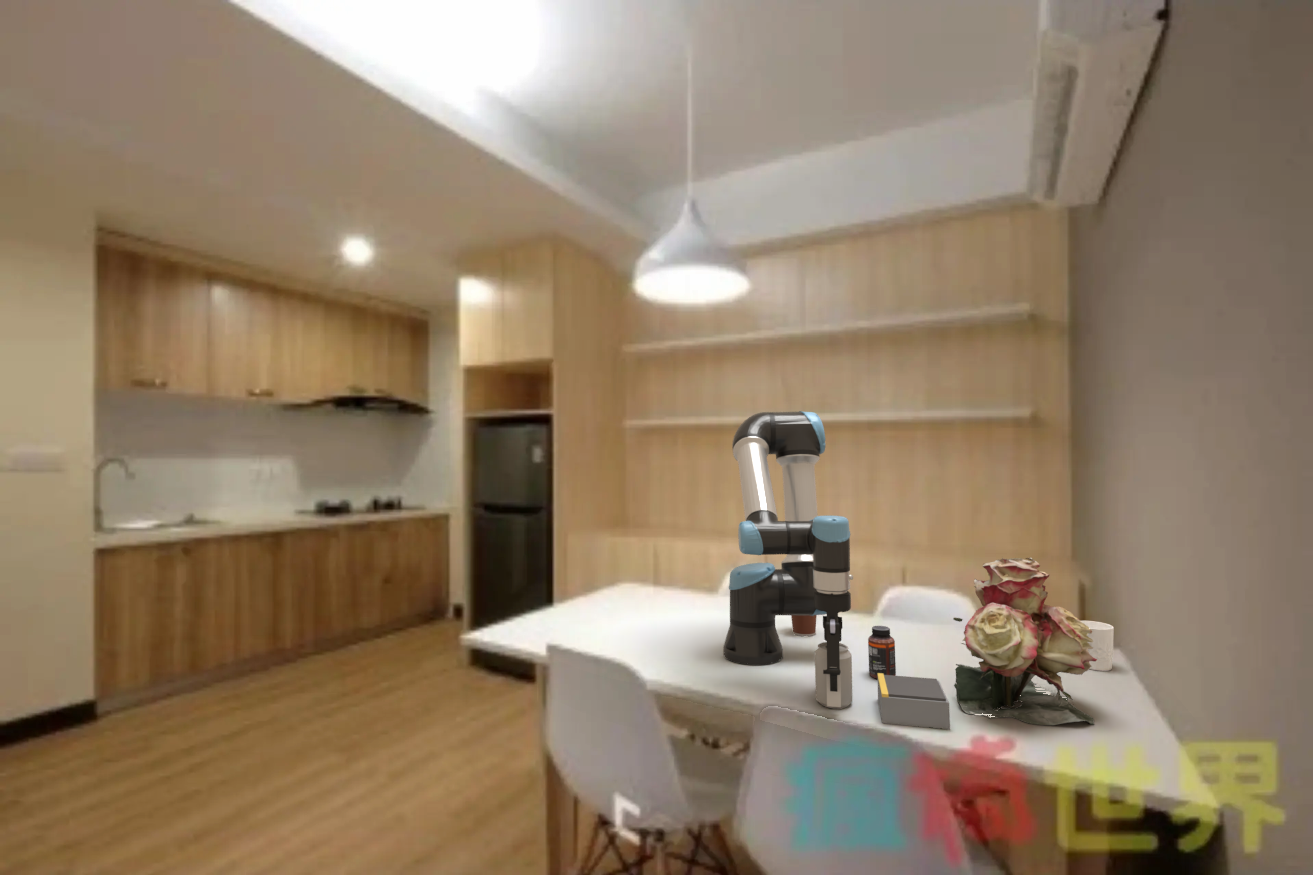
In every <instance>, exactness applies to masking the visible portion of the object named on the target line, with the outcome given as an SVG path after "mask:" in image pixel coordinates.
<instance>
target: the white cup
mask: <svg viewBox="0 0 1313 875" xmlns="http://www.w3.org/2000/svg"><path fill="white" fill-rule="evenodd" d="M1080 622H1082V623H1084V624H1085V625H1087V626H1088V627H1089V629H1091V630H1092V634H1091V633H1088V635H1086V636H1088V637H1089V638H1091V639H1092V640H1093V642H1088V643H1089V645H1090V646H1091V647H1093V649H1088V652H1089V654H1090V655H1091V656H1092V657H1093V658H1095V659H1097V660H1096V661H1089V663H1090V665H1091V666H1092V667H1090V668H1089V670H1093V671H1097V672H1098V671H1100V672H1108V671H1111V670H1113V657H1114V633H1115V632H1114V631H1115V629H1114V626H1113V625H1111V624H1109V623H1105V622H1101V621H1093V620H1080Z"/></svg>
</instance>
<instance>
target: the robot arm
mask: <svg viewBox="0 0 1313 875" xmlns="http://www.w3.org/2000/svg"><path fill="white" fill-rule="evenodd" d="M825 434H826V433H825V427H824V424H823V421H822V419H821V417H820V416H819V415H818V414H817V413H816V412H814V411H813V412H812V411H802V410H799V411H772V412H771V411H770V412H769V411H761V412H757V413H755V414H753V415H751V416H749V417H747V419H745V420H744V421H743V422H742V423H740V425H739V427H738V428H737V430H735V433H734V436H733V439H732V444H731V446H732V455H733V458H734V459H735V460H736V461H737V464H738V472H739V473H738V474H739V481H740V489H741V495H742V496H741V498H742V505H743V512H744V520H743V521H741V522H739V524H738V534H737V536H738V548H739V551H740V552H741V554H743V555H750V556H751V555H753V556H764V555H765V556H766V555H770V556H771V555H786V556H785V557H784V558H783V560H781V562H780V563H781V569H780V568H776V567H775V565H774V564H773V563H770V562H754V563H746V564H742V565H738V566H736V567H734V568H733V569H732V570H730V573H729V583H728V584H729V585H728V590H729V627H728V630H727V634H726V637H725V639H724V640H725V641H724V643H723V657H724V658H725V659H726V660H728V661H731V662H733V663H737V664H742V665H749V666H751V665H752V666H762V665H771V664H774V663H778V662H780V661H781V660H782V659H783V658H784V657H783V655H784V653H783V645H782V643H781V639H780V636H779V634H778V630H777V627H776V616H791V615H810V616H814V615H817V616H822V627H823V639H824V641H825V642H827V669H826V670H823V674H826V678H827V706H831V707H841V678H840V673H841V670H840V655H839V643H841V641H842V629H843V617H842V616H839V613H846V612H848V611H850V610H851V608H852V605H851V604H852V603H851V602H852V599H851V595H852V594H851V592H850V589H851V581H850V580H853V579H854V575H853V574H851V551H850V550H851V549H850V548H851V547H850V545H851V544H850V543H851V540H850V538H851V531H850V521H849V519H848V518H847V517H845V516H842V515H818V502H817V486H816V484H817V482H816V473H815V471H816V470H815V465H816V464H817V463H818V462H819V461H820V460H821V459H820V457H821V456H820V455H822V454H824V453H825V451H826V435H825ZM769 455H775V461H776V463H777V464H778V465H780V466H781V468H782V488H783V489H782V490H783V510H784V520H778V519H779V517H778V513H777V507H776V501H775V495H774V491H773V484H772V478H771V474H770V468H769V463H768V462H769V461H768V456H769ZM830 667H837V668H830Z"/></svg>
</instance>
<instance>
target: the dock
mask: <svg viewBox="0 0 1313 875" xmlns="http://www.w3.org/2000/svg"><path fill="white" fill-rule="evenodd" d="M877 676H878V679H877V704H878V706H879V712H880V718H881V723H882V724H889V725H899V726H908V727H918V726H919V728H929V727H933V728H932V729H940V728H942V729H943V730H951V727H950V726H951V724H950V722H951V721H950V718H951V717H950V702H949V699H948V697H947V695H946V693H945V691H944V689H943V687H942V685H941V682H940V680H938V679H937V678H933V677H932V678H929V677H917V676H906V675H905V676H904V675H903V676H902V675H896V676H893V675H884V674H883V673H877ZM942 729H941V730H942Z"/></svg>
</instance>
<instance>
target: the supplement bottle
mask: <svg viewBox="0 0 1313 875" xmlns="http://www.w3.org/2000/svg"><path fill="white" fill-rule="evenodd" d="M871 632H872V634H871V635H870V636H869V637H868V638H867V642H868V643H867V646H868V674H869V676H870V677H871V678H874V679H877V680H878V676H877V673H883V674H884V675H893V676H897V671H896V670H897V668H896V663H897V662H896V643H895V639H894V638H893V636H891V628H890V627H888V626H886V625H873V626H871Z"/></svg>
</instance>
